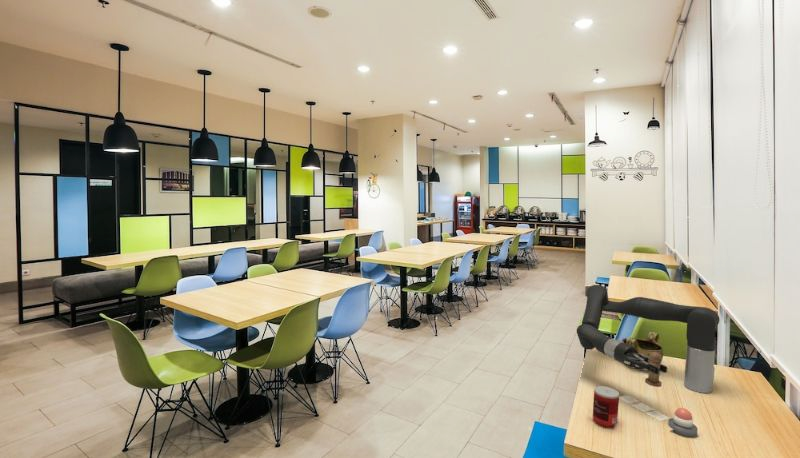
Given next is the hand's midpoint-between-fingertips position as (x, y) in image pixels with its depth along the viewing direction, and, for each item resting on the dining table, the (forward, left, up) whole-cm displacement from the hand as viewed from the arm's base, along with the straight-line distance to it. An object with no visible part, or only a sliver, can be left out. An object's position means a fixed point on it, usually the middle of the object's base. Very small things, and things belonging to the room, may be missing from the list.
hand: (662, 370), depth 140 cm
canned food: (+20, -4, -18) cm, 27 cm away
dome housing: (-1, +8, -18) cm, 19 cm away
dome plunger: (-1, +8, -15) cm, 17 cm away
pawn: (0, -3, -6) cm, 7 cm away
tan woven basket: (-34, -35, -18) cm, 52 cm away
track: (0, -6, -18) cm, 19 cm away
